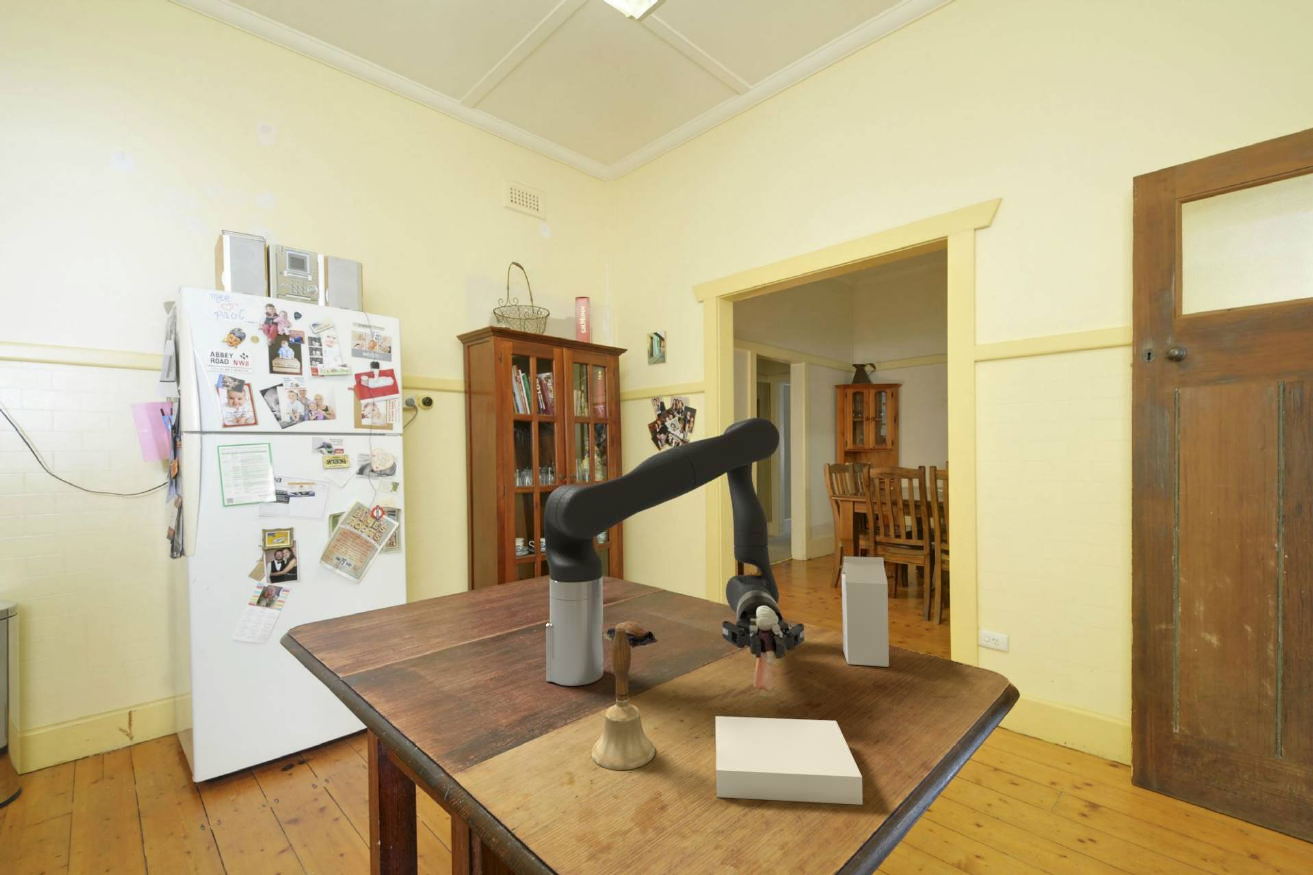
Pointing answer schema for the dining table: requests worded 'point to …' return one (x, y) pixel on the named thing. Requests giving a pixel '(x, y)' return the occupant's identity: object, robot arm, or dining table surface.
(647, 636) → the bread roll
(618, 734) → the hand bell
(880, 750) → the dining table surface
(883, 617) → the milk carton
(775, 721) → the stone slab
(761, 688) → the grandmother figurine
